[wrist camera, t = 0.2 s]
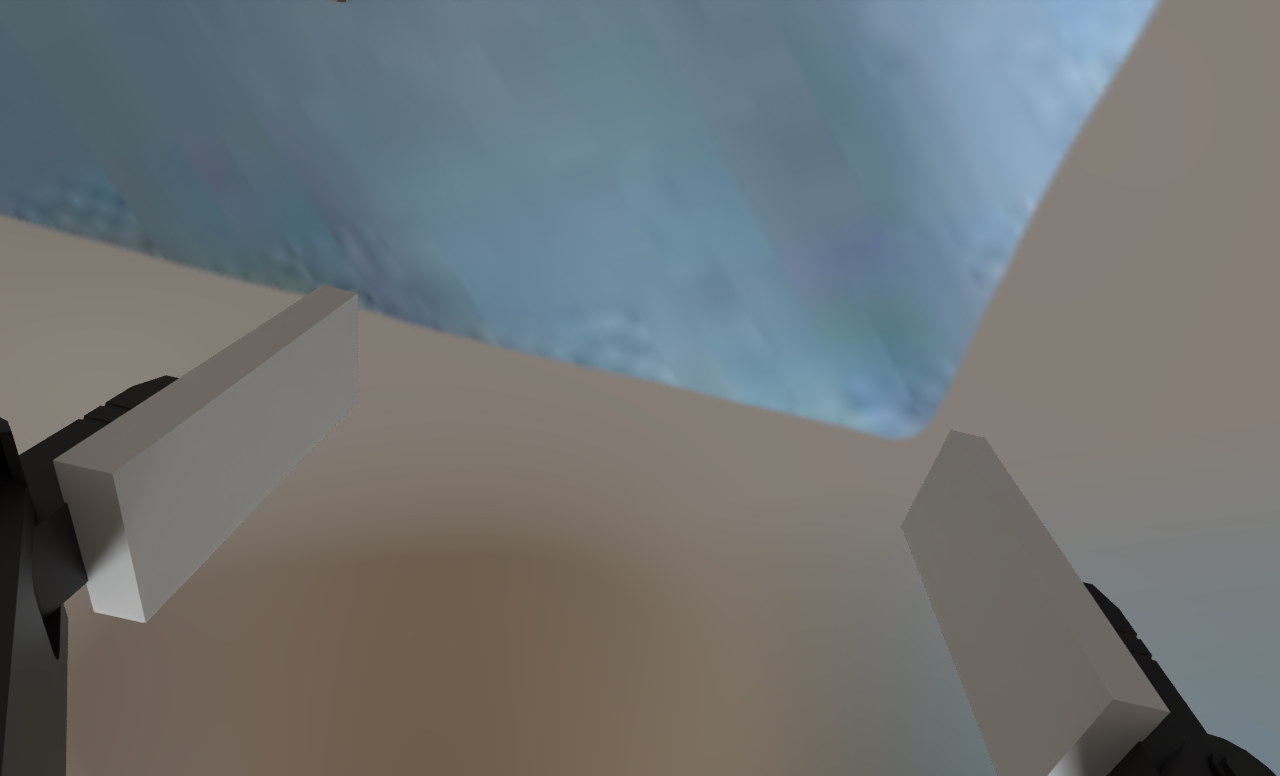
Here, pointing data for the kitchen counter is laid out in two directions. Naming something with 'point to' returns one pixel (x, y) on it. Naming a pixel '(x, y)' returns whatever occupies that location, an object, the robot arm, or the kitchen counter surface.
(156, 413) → the robot arm
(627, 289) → the kitchen counter surface
